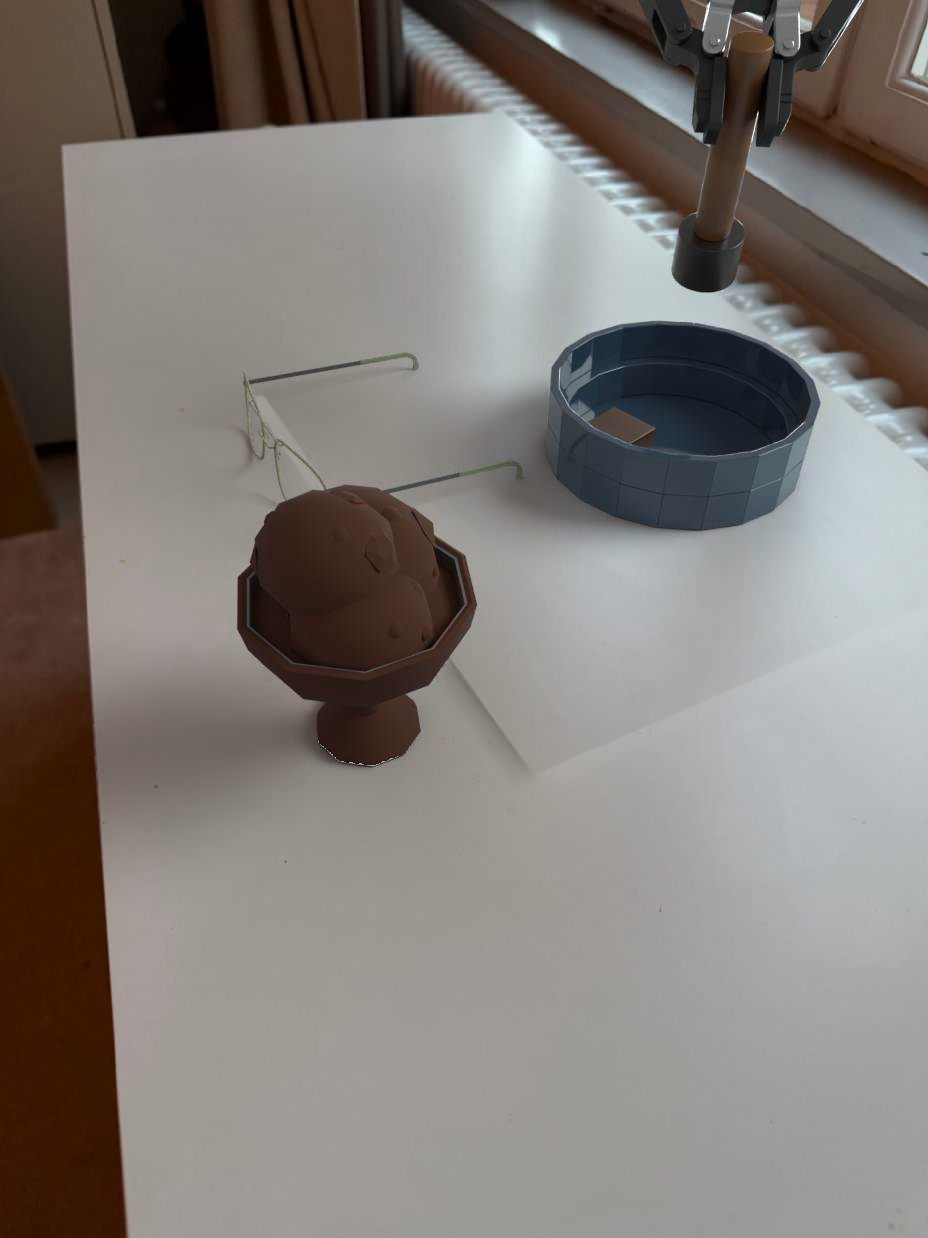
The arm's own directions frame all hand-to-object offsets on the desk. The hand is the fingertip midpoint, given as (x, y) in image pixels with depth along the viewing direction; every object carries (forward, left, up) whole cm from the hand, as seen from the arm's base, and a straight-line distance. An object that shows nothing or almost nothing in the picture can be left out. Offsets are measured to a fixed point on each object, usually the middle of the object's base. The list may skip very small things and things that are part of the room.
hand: (739, 137), depth 53 cm
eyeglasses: (+20, -7, -22) cm, 30 cm away
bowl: (0, -2, -22) cm, 22 cm away
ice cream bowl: (+24, +17, -22) cm, 37 cm away
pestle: (-1, -4, -10) cm, 11 cm away
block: (+5, 0, -21) cm, 21 cm away
